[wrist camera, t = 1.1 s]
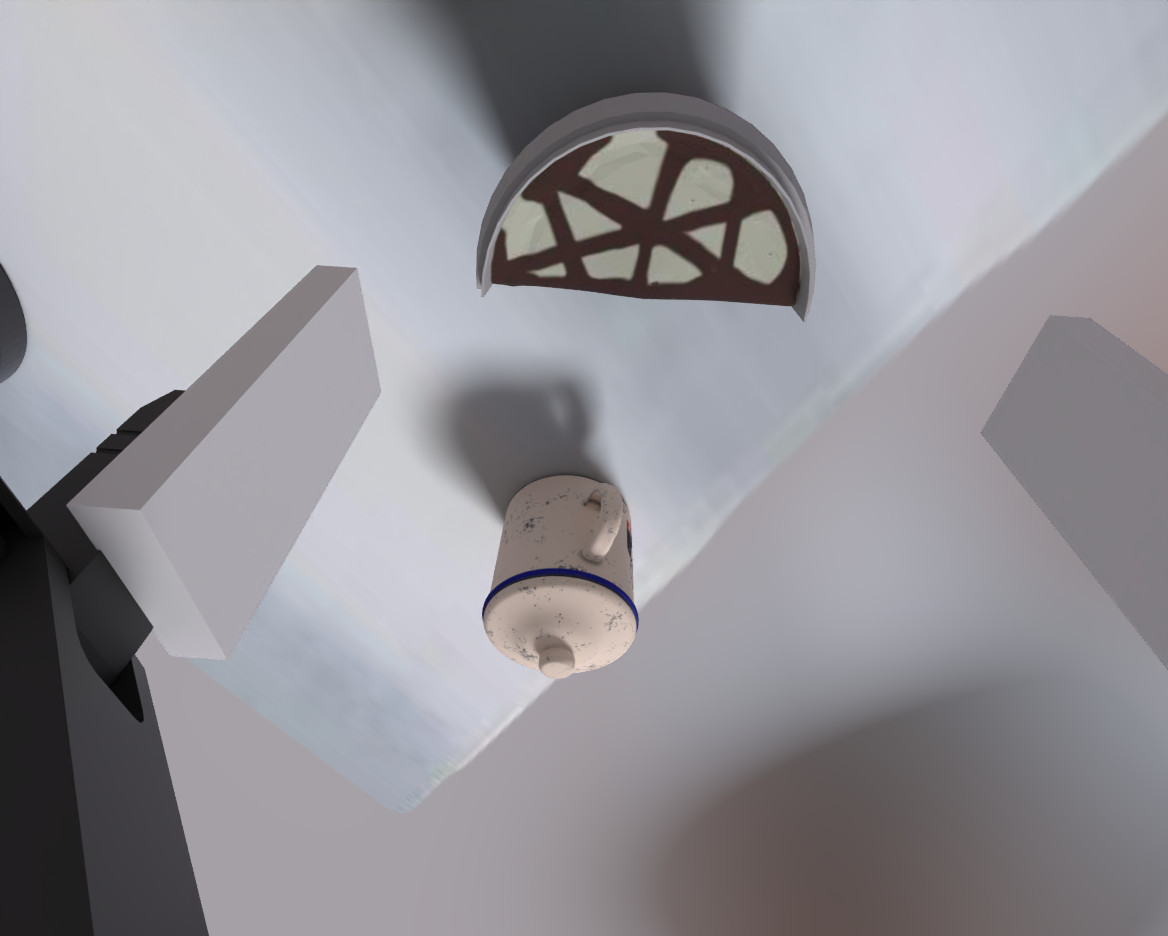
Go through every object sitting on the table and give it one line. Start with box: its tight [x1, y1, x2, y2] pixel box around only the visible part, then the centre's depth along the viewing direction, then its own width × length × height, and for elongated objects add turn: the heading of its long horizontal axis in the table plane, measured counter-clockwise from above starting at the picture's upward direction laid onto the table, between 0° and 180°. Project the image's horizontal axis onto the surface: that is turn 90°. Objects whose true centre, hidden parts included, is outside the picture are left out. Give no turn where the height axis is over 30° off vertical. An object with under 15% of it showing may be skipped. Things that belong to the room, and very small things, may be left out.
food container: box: [476, 92, 816, 322], centre depth 22 cm, size 12×6×10 cm, turn 86°
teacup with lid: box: [482, 475, 639, 679], centre depth 36 cm, size 12×9×12 cm
